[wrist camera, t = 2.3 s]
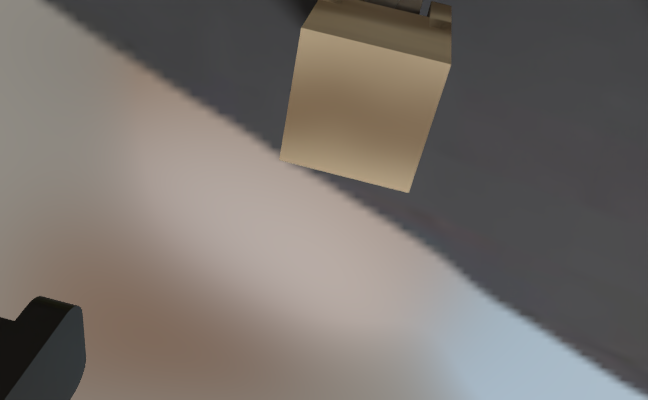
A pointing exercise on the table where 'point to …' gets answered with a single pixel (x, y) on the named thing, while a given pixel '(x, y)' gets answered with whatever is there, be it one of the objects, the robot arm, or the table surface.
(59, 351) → the robot arm
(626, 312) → the table surface
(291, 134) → the block
